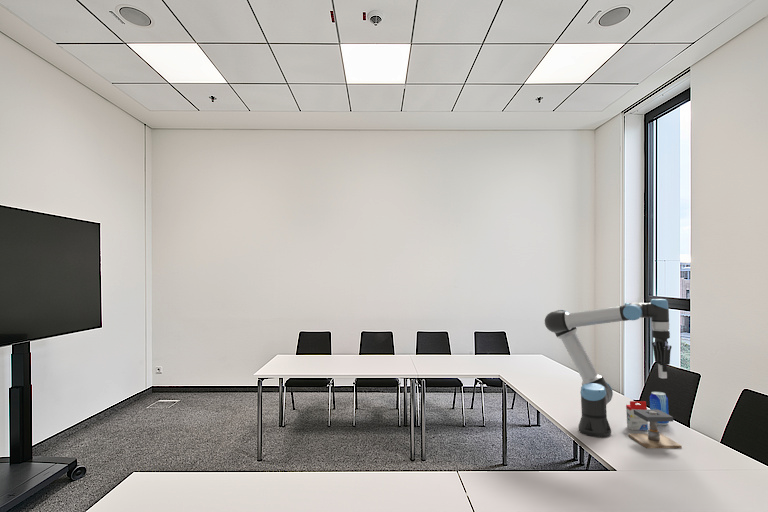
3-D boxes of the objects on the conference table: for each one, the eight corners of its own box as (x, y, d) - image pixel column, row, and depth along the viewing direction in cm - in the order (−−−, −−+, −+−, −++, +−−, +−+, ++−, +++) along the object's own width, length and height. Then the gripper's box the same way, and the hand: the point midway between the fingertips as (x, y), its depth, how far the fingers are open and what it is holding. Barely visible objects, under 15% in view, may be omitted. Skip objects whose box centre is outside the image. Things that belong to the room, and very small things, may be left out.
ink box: (643, 427, 238) (642, 398, 238) (648, 430, 233) (647, 401, 233) (626, 427, 238) (625, 398, 239) (630, 430, 234) (629, 401, 234)
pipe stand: (646, 448, 209) (644, 417, 210) (628, 436, 225) (627, 407, 226) (681, 448, 208) (680, 417, 209) (661, 435, 224) (660, 407, 225)
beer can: (672, 425, 239) (671, 395, 240) (656, 426, 239) (655, 395, 240) (663, 420, 247) (661, 391, 248) (647, 421, 247) (646, 391, 248)
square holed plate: (647, 421, 211) (647, 417, 212) (633, 413, 223) (633, 409, 223) (673, 421, 211) (673, 417, 211) (658, 413, 223) (658, 409, 223)
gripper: (676, 331, 220) (679, 381, 219) (660, 328, 234) (662, 374, 233) (661, 331, 220) (663, 381, 219) (645, 328, 234) (647, 374, 233)
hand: (662, 377), depth 226 cm, fingers closed
